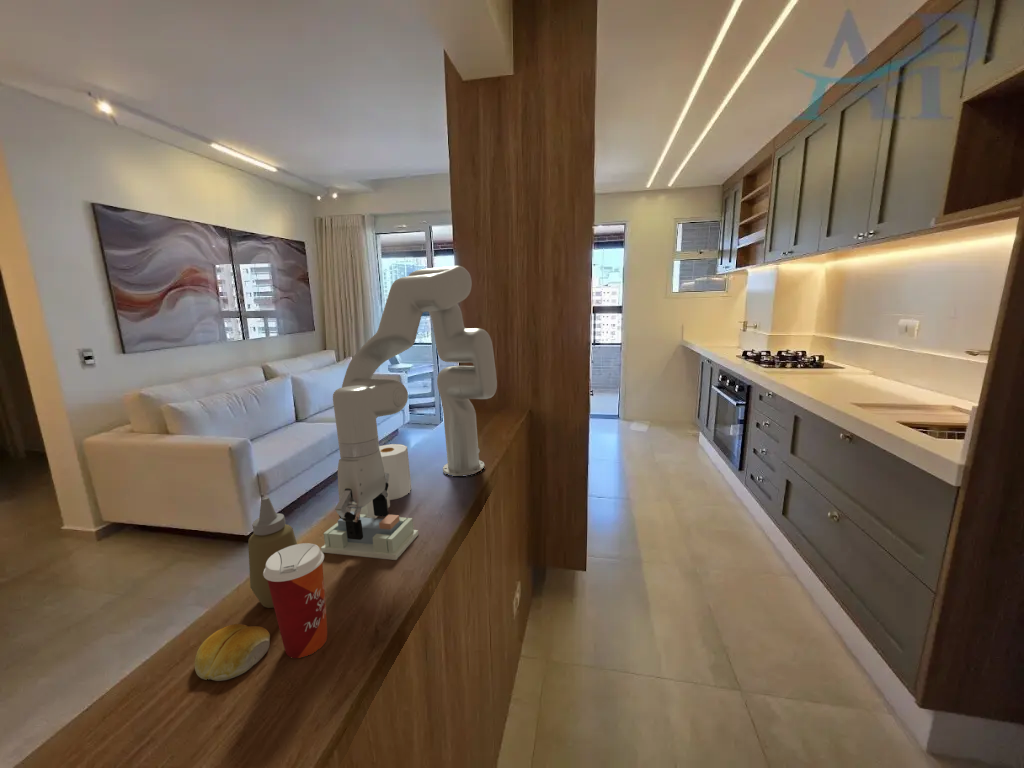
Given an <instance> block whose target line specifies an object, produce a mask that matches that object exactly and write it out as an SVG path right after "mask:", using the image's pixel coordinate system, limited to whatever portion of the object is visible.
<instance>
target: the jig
mask: <svg viewBox="0 0 1024 768" xmlns="http://www.w3.org/2000/svg"><path fill="white" fill-rule="evenodd" d="M360 517H364V518H366V515H364V514H360ZM399 519H400V523H401V526H400V527H399V528H398V529H397V530H396V531H395V532H394V533H393V534H392V535H391V536H390V535H386V534H376V535H375V536H374V537H373V544H364V543H353V542H348V541H347V533H346V531H340V530H339V527H338V521H337V522H336V523H335V524H333V525H332V526H330V528H328V529H327V530H326V531H324V532H323V540H324V545H322V546H321V547H320V550H321V551H322V552H323V554H324V553H325V554H333V555H334V554H335V555H342V556H343V555H344V556H353V557H362V558H373V559H383V560H393V561H397V560H398V559H399V558H400V556H401V555H402V554H403V553H404V552H405V550H407V548H408V547H409V546H410V545H411V544H412V543H413V542H414V541H415V539H416V538H417V537H418V536H419V529H414V519H413V517H401V516H399Z"/></svg>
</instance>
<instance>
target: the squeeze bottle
mask: <svg viewBox="0 0 1024 768" xmlns="http://www.w3.org/2000/svg"><path fill="white" fill-rule="evenodd" d="M252 522H253V523H252V524H251V525H252V530H253V533H252V534H251V535H250V536H249V538H248V542H247V543H248V545H247V546H248V547H247V548H248V566H249V567H248V569H249V585H250V589H251V591H252V592H253V595H255V597H256V598H257V599H258V601H259V602H260V604H261V605H262V607H264V608H267V609H272V608H273V609H274V605H273V601H272V597H271V593H270V589H269V585H268V581H267V579H265V578H264V576H263V572H264V569H265V567H266V562H267V560H268V559H269V558H270V556H272V555H273V554H274V553H276V552H277V551H280V550H282V549H284V548H286V547H289V546H292V545H296V544H298V542H297V538H296V535H295V532H294V529H293V527H292V526H291V525H289V524H286V517H285V515H284V514H283V513H277V512H276V510H275V508H274V505H273V504H272V501H271V499H270V497H264V498H262V499H260V507H259V517H257V519H255V520H254V521H252Z"/></svg>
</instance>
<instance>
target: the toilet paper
mask: <svg viewBox="0 0 1024 768" xmlns="http://www.w3.org/2000/svg"><path fill="white" fill-rule="evenodd" d="M379 449H380V453H381V457H382V462H383V467H384V472H386V473H389V480H388V491H389V500H390V501H393V500H397V499H401V498H403V497H405V496H407V495H409V494H410V492H411V491H410V490H412V479H411V470H410V461H409V451H408V446H406V445H404V444H398V443H396V444H395V443H391V444H383V445H379ZM408 493H409V494H408Z"/></svg>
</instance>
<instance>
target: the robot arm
mask: <svg viewBox="0 0 1024 768" xmlns="http://www.w3.org/2000/svg"><path fill="white" fill-rule="evenodd" d="M472 283H473V282H472V277H471V274H470V272H469V271H468V270H467V269H466V268H465V267H464V266H461V265H452V266H451V265H449V266H442V267H441V266H440V267H431V268H430V267H429V268H421V269H417V270H414V271H412V272H410V273H409V274H408V276H407V275H406V276H402V277H399V278H397V279H396V280H394V281H393V283H392V284H391V286H390V289H389V290H388V291H389V292H388V295H387V298H386V302H385V304H384V305H385V306H384V308H383V312H382V315H381V318H380V322H379V325H378V329H377V331H376V332H375V334H374V335H373V336H371V337H370V338H369V339H368V340H367V341H366V342H365V343H364V344H363V346H362V347H360V349H358V351H357V352H356V353H355V354H354V355H353V356H352V357H351V358H352V359H351V360H350V362H349V364H348V366H347V369H346V372H345V374H344V377H343V381H342V385H341V387H339V388H337V389H336V390H334V392H333V394H332V402H333V410H334V411H333V412H334V417H335V425H336V426H335V427H336V433H337V441H338V449H339V456H340V458H339V459H338V464H337V489H338V491H337V492H338V500H339V501H338V503H336V506H335V508H334V509H335V510H334V511H335V512H336V514H337V515H338V516H339V517H338V518H339V519H340V518H341V519H343V521H345V522H346V530H347V537H348V538H349V539H357V540H361V539H362V538H363V531H362V523H361V520H359V516H360V512H361V508H362V507H364V506H365V505H367V504H368V503H369V502H370V501H372V500H373V508H374V515H375V516H378V517H384V518H385V517H386V516H387V515H389V508H388V505H387V496H388V493H387V489H388V480H389V473H386V472H384V467H383V462H382V457H381V453H380V449H379V446H380V442H379V441H380V440H379V433H378V431H379V430H378V426H377V424H378V423H377V418H378V417H379V418H380V417H385V416H386V417H387V416H391V415H395V414H398V413H400V412H401V411H402V410H403V409H405V406H406V405H407V403H408V399H409V393H408V389H407V387H406V386H405V385H404V384H403V383H402V382H400V381H398V380H396V379H387V378H386V379H385V378H384V379H382V378H381V379H378V378H373V376H374V374H375V372H376V371H377V370H378V369H379V368H380V366H382V365H383V363H385V362H387V361H388V360H390V359H392V358H394V357H396V356H397V355H400V354H401V353H403V352H406V351H407V350H409V349H410V348H411V347H413V346H414V344H415V342H416V338H417V335H418V331H419V326H420V323H421V319H422V316H423V313H426V312H427V313H429V315H430V318H431V321H432V322H431V323H432V329H433V333H434V339H435V345H436V350H437V354H438V357H439V359H440V360H441V361H443V362H445V363H453V364H454V363H455V364H457V363H459V364H460V363H466V364H467V363H471V364H472V365H451V366H447V367H444V368H442V369H441V370H440V371H439V372H438V375H437V377H436V383H437V390H438V392H439V397H440V401H441V404H442V405H441V406H442V412H443V415H442V416H443V423H444V424H443V425H444V435H445V436H444V437H445V447H446V459H447V463H446V464H444V465H443V467H442V472H443V474H445V473H446V474H449V475H453V476H463V475H469V474H472V473H475V472H478V471H480V470H481V469H483V468H484V466H485V467H486V465H485V462H484V461H482V460H480V455H479V453H480V452H481V449H480V448H479V442H478V441H479V440H478V429H477V428H478V427H477V426H478V425H477V413H476V410H475V407H474V404H473V403H472V402H471V400H488V399H491V398H492V397H494V395H495V394H496V392H497V388H498V380H497V370H496V364H495V363H496V362H495V361H496V360H495V353H494V347H493V341H492V339H491V336H490V334H489V332H487V330H485V329H483V328H480V327H479V328H477V327H474V328H473V327H472V328H467V327H465V324H464V319H463V318H464V317H463V312H462V309H461V307H460V305H459V303H461V302H463V301H464V300H466V299H467V298H468V296H470V293H471V291H472V285H473V284H472ZM484 469H485V468H484ZM446 474H445V475H446ZM453 476H452V477H453ZM352 502H355V503H357V505H354V504H352ZM351 508H353V509H355V512H354V515H353V514H352V513H350V512H351Z"/></svg>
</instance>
